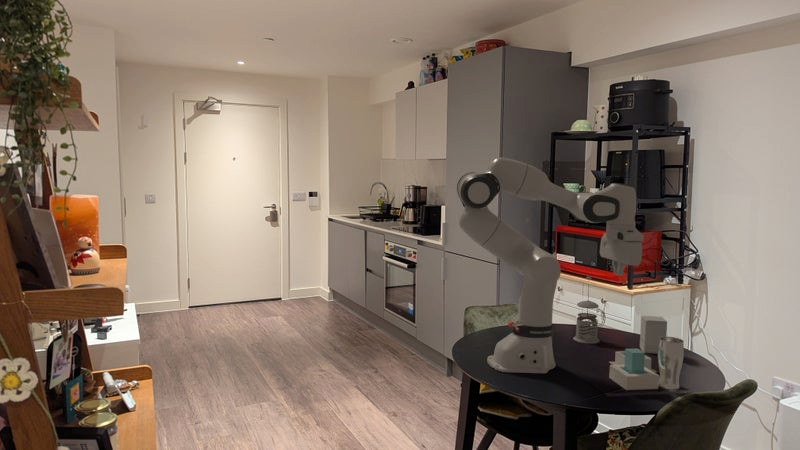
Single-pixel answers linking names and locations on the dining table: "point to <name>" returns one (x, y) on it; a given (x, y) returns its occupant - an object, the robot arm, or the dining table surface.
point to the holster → (621, 360)
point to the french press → (587, 322)
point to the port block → (634, 379)
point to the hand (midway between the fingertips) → (618, 274)
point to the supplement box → (652, 333)
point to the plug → (634, 361)
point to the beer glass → (670, 362)
